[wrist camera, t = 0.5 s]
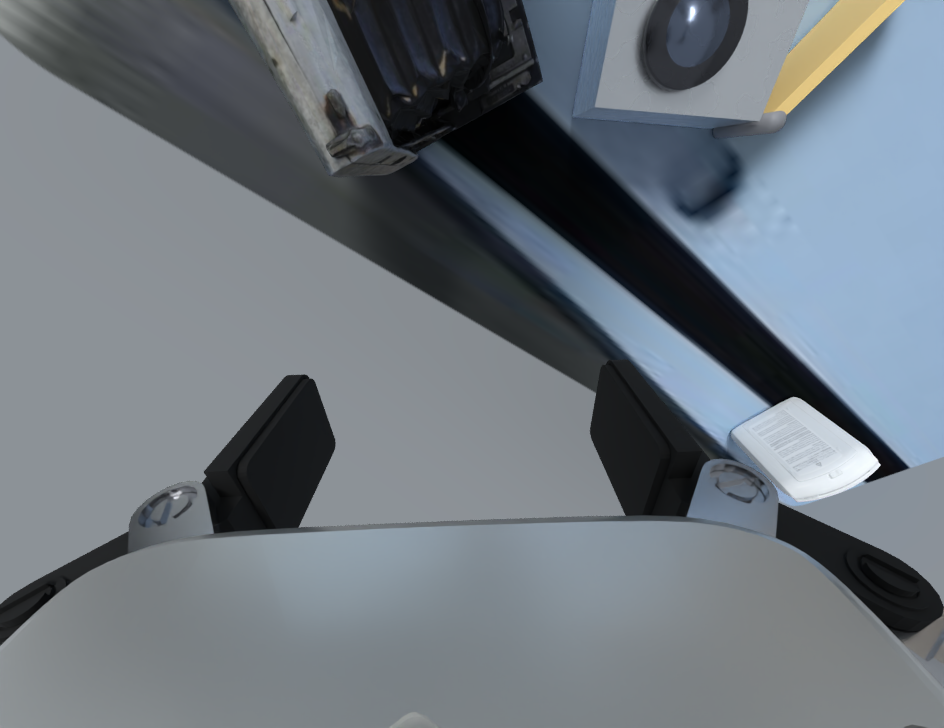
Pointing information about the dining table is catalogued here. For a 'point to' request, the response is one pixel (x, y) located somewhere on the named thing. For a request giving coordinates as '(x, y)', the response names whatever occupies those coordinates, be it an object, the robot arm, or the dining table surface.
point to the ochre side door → (815, 60)
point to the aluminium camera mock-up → (684, 60)
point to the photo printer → (804, 451)
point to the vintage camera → (390, 71)
